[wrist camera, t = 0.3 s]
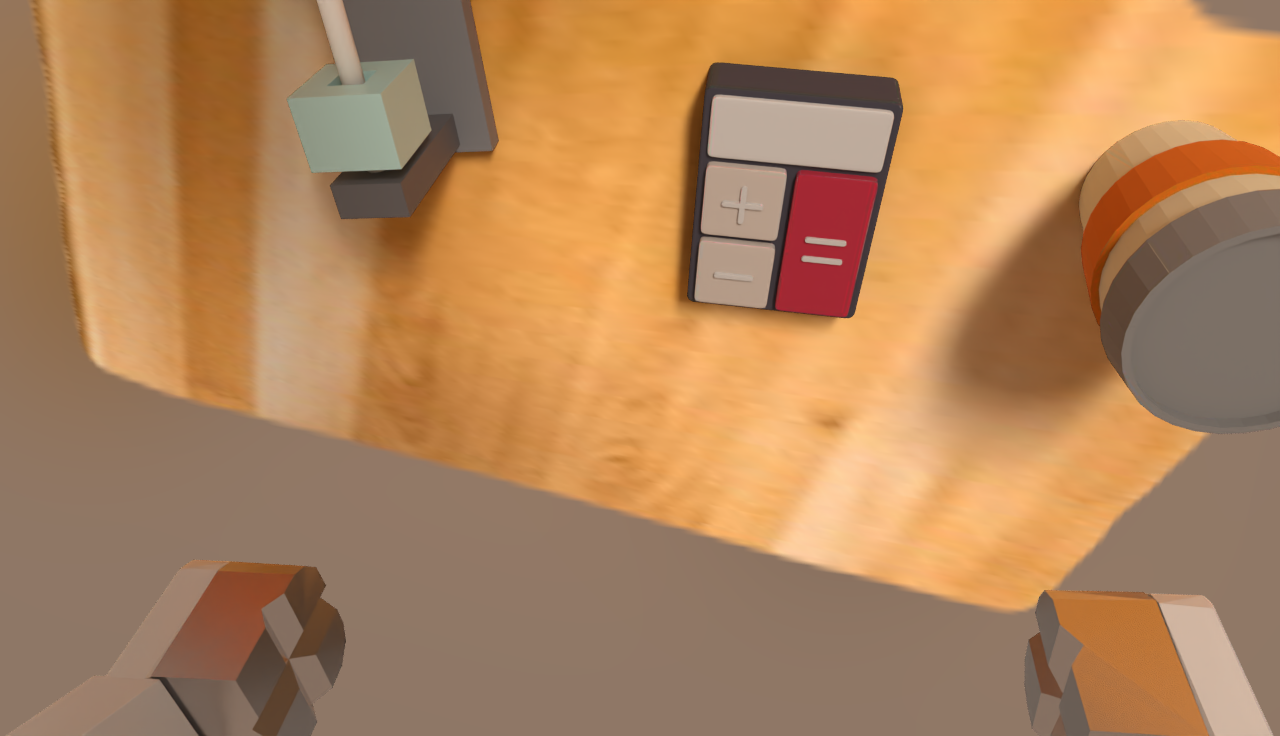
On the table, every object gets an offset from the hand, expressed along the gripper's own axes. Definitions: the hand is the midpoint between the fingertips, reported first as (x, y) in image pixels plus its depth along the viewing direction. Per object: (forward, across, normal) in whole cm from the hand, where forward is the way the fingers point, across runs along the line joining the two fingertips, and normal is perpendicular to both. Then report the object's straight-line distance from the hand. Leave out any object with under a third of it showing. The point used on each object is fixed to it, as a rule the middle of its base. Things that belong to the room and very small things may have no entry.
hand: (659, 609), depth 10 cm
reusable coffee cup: (+47, -23, +19) cm, 56 cm away
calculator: (+47, -1, +18) cm, 51 cm away
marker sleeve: (+40, +21, +8) cm, 46 cm away
